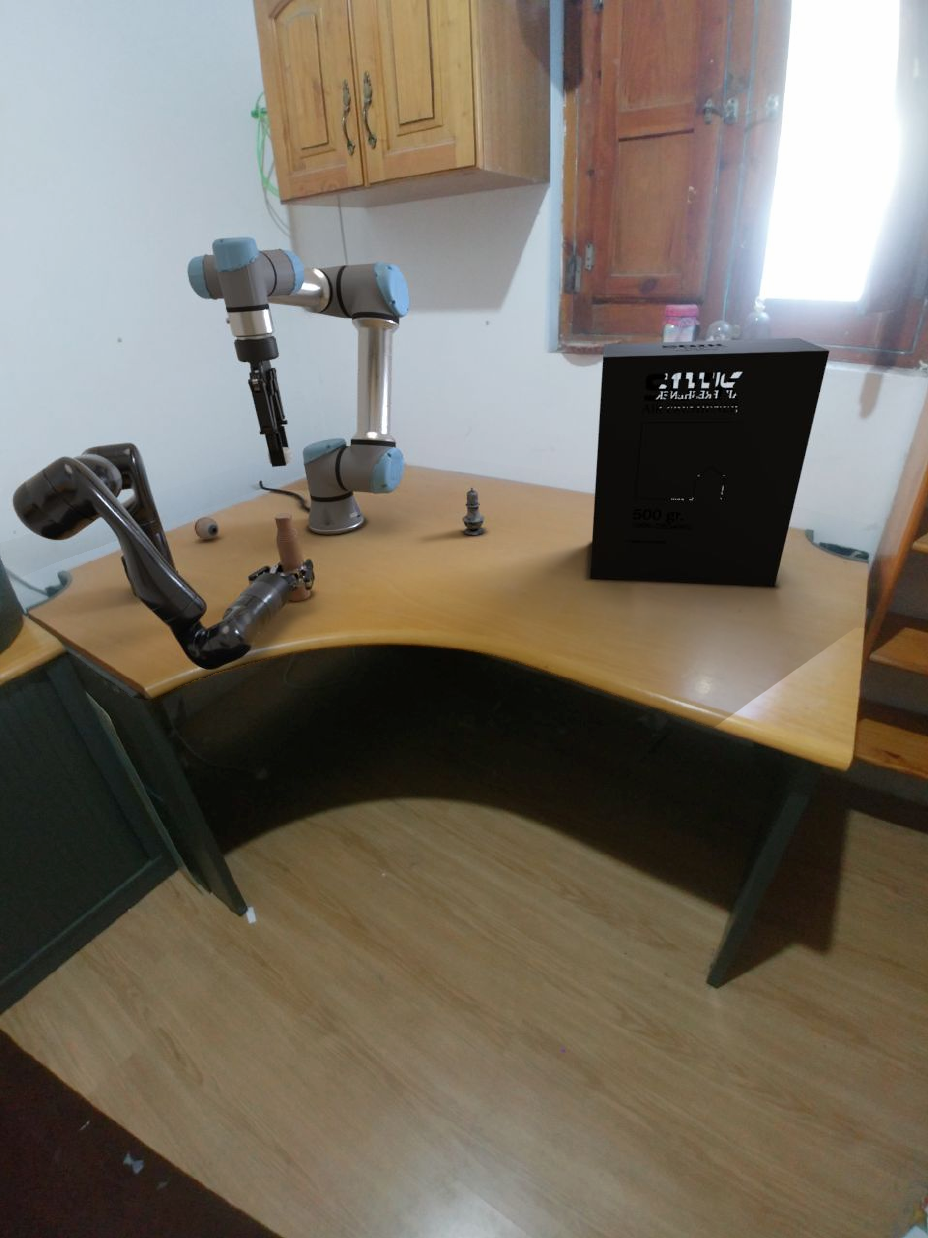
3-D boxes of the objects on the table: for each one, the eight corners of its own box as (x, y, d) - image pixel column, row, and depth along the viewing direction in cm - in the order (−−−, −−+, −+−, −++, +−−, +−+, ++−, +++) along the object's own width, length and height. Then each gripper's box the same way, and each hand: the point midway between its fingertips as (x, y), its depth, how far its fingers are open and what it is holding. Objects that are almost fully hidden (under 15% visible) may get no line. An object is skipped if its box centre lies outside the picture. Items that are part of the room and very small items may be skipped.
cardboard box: (755, 547, 142) (798, 337, 120) (774, 586, 125) (829, 350, 102) (592, 542, 150) (603, 344, 127) (589, 578, 133) (603, 356, 110)
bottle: (305, 601, 130) (288, 520, 121) (284, 600, 131) (266, 519, 122) (314, 591, 134) (298, 511, 125) (294, 590, 135) (277, 511, 126)
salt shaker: (482, 535, 157) (481, 491, 151) (460, 535, 158) (458, 490, 152) (486, 527, 162) (485, 483, 156) (465, 526, 163) (463, 483, 157)
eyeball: (208, 544, 161) (202, 523, 158) (193, 540, 164) (187, 519, 161) (226, 536, 166) (220, 516, 163) (211, 533, 169) (205, 512, 166)
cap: (296, 458, 124) (293, 446, 123) (287, 465, 120) (284, 453, 119) (275, 458, 125) (273, 447, 124) (266, 465, 121) (263, 453, 120)
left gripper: (294, 583, 114) (326, 547, 129) (224, 581, 117) (264, 546, 131) (301, 617, 118) (332, 579, 132) (234, 614, 120) (272, 577, 135)
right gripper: (244, 332, 118) (271, 451, 130) (220, 344, 103) (253, 476, 115) (283, 329, 118) (306, 448, 130) (264, 340, 103) (292, 473, 115)
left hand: (298, 562), depth 132 cm, fingers closed on bottle, 4 cm apart
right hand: (281, 461), depth 123 cm, fingers closed on cap, 4 cm apart
